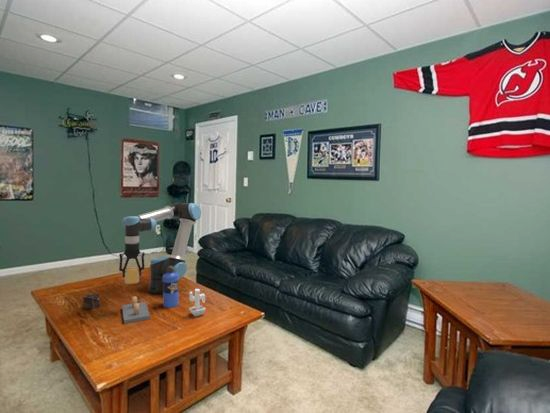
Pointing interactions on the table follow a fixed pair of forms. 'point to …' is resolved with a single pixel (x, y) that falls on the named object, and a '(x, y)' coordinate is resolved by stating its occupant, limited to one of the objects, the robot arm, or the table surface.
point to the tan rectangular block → (131, 275)
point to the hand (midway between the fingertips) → (131, 281)
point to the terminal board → (135, 317)
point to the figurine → (197, 303)
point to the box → (91, 301)
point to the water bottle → (170, 288)
